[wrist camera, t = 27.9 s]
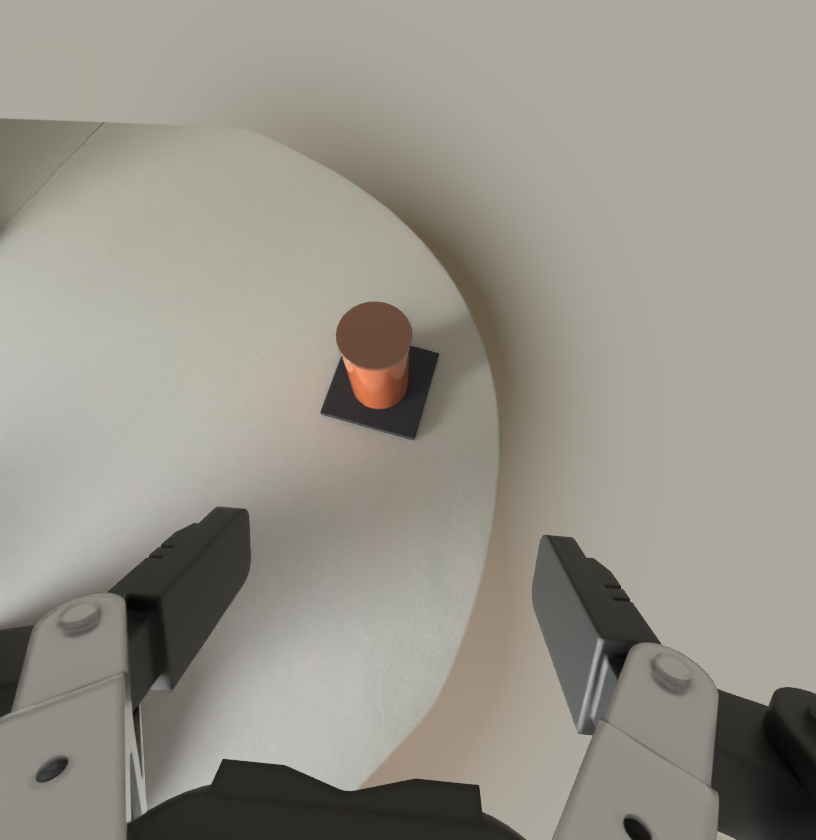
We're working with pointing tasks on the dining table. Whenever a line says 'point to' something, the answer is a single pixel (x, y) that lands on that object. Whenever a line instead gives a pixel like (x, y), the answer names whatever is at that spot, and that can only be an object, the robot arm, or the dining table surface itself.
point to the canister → (376, 353)
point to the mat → (389, 420)
